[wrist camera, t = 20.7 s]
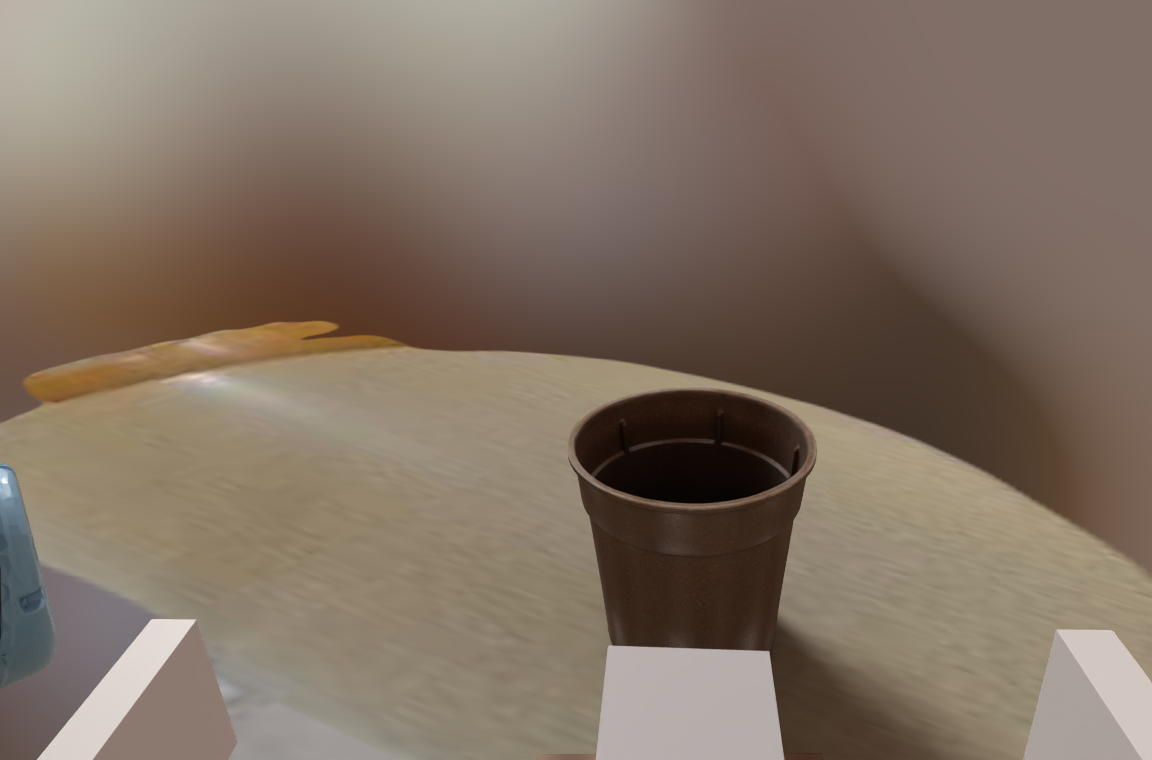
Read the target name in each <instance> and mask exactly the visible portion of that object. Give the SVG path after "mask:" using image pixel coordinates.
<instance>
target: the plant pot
mask: <svg viewBox="0 0 1152 760" xmlns="http://www.w3.org/2000/svg"><path fill="white" fill-rule="evenodd" d="M567 453H568V458H569V462H570V464H571V466H572V468H573V470H574V471H575V472H576V474H577V475H578V480H579V486H580V491H581V497H582V502H583V505H584V508H585V510H586V512H587V513H588V515H589V516H590V522H591V527H592V533H593V538H594V544H595V550H596V555H597V561H598V567H599V573H600V579H601V585H602V591H603V597H604V603H605V609H606V616H607V623H608V631H609V636H610V639H611V642H612V644H613V646H633V647H662V648H691V649H720V650H749V651H769V653H770V650H771V648H772V645H773V641H774V636H775V628H776V621H777V615H778V608H779V602H780V595H781V589H782V584H783V577H784V572H785V566H786V561H787V555H788V549H789V543H790V537H791V532H792V526H793V521H794V518H795V517H796V515H797V513H798V511H799V509H800V506H801V501H802V496H803V491H804V486H805V481H806V477H807V476H808V475H809V474H810V472H811V471H812V469H813V467H814V464H815V461H816V456H817V446H816V440H815V438H814V435H813V433H812V431H811V430H810V428H809V427H808V426H807V424H806V423H805V422H803V421H802V420H801V419H800V418H799V417H798V416H796V415H795V414H794V413H792V412H790V411H789V410H787V409H785V408H784V407H781V406H779V405H777V404H775V403H773V402H770V401H768V400H765V399H762V398H759V397H756V396H752V395H748V394H744V393H740V392H735V391H729V390H722V389H714V388H670V389H661V390H654V391H647V392H642V393H637V394H633V395H628V396H625V397H622V398H619V399H616V400H613V401H611V402H608V403H606V404H604V405H602V406H600V407H598V408H596V409H595V410H593V411H591V412H590V413H588V414H587V415H586V416H584V417H583V418H582V419H581V420H580V421H579V422H578V423H577V424H576V425H575V426H574V428H573V429H572V431H571V433H570V435H569V437H568V441H567Z"/></svg>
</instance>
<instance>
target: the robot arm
mask: <svg viewBox="0 0 1152 760" xmlns="http://www.w3.org/2000/svg"><path fill="white" fill-rule="evenodd" d="M56 649H57V637H56V632H55V627H54V622H53V618H52V613H51V609H50V605H49V601H48V596H47V593H46V588H45V584H44V580H43V576H42V572H41V568H40V564H39V560H38V556H37V552H36V548H35V544H34V540H33V536H32V532H31V528H30V524H29V520H28V517H27V513H26V509H25V506H24V502H23V498H22V494H21V490H20V486H19V483H18V480H17V476H16V474H15V471H14V470H13V469H12V468H11V467H10V466H8V465H6V464H1V463H0V689H1V688H4V687H6V686H8V685H11V684H13V683H15V682H18V681H20V680H23V679H25V678H27V677H30V676H32V675H34V674H36V673H38V672H39V671H41V670H42V669H44V668H45V667H46V666H47V665H48V664H49V663H50V661H51V660H52V659H53V657H54V655H55V652H56ZM236 744H237V739H236V736H235V733H234V730H233V727H232V724H231V721H230V718H229V715H228V712H227V709H226V706H225V703H224V701H223V698H222V695H221V692H220V689H219V686H218V683H217V680H216V677H215V674H214V671H213V668H212V665H211V662H210V659H209V656H208V653H207V650H206V647H205V644H204V641H203V638H202V635H201V632H200V629H199V626H198V623H197V620H167V619H152V620H151V621H150V622H149V623H148V625H147V626H146V627H145V628H144V629H143V631H142V632H141V633H140V634H139V636H138V637H137V638H136V639H135V640H134V642H133V643H132V644H131V645H130V647H129V648H128V649H127V650H126V651H125V653H124V654H123V655H122V656H121V658H120V659H119V660H118V661H117V663H116V664H115V665H114V666H113V667H112V669H111V670H110V671H109V672H108V674H107V675H106V676H105V677H104V678H103V680H102V681H101V682H100V683H99V684H98V686H97V687H96V688H95V689H94V691H93V692H92V693H91V694H90V696H89V697H88V698H87V699H86V700H85V702H84V703H83V704H82V705H81V707H80V708H79V709H78V710H77V711H76V713H75V714H74V715H73V716H72V718H71V719H70V720H69V721H68V722H67V724H66V725H65V726H64V727H63V729H62V730H61V731H60V732H59V733H58V735H57V736H56V737H55V739H54V740H53V741H52V742H51V743H50V745H49V746H48V747H47V748H46V749H45V751H44V752H43V753H42V754H41V755H40V757H39V758H38V759H37V760H228V758H229V756H230V754H231V753H232V751H233V749H234V747H235V745H236ZM1023 760H1152V682H1151V681H1150V680H1149V678H1148V677H1147V676H1146V674H1145V673H1144V672H1143V670H1142V669H1141V668H1140V666H1139V665H1138V664H1137V662H1136V661H1135V660H1134V658H1133V657H1132V656H1131V654H1130V653H1129V652H1128V650H1127V649H1126V648H1125V646H1124V645H1123V644H1122V642H1121V641H1120V640H1119V638H1118V637H1117V636H1116V634H1115V633H1114V632H1113V630H1056V632H1055V636H1054V640H1053V644H1052V648H1051V652H1050V656H1049V660H1048V664H1047V668H1046V672H1045V676H1044V680H1043V684H1042V688H1041V692H1040V696H1039V700H1038V704H1037V708H1036V712H1035V716H1034V720H1033V724H1032V727H1031V731H1030V735H1029V739H1028V743H1027V747H1026V751H1025V755H1024V759H1023Z"/></svg>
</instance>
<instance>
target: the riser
mask: <svg viewBox="0 0 1152 760" xmlns="http://www.w3.org/2000/svg"><path fill="white" fill-rule="evenodd" d="M537 760H596V754H538V756H537ZM784 760H823V757H822V754H821V753H785V754H784Z"/></svg>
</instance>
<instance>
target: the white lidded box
mask: <svg viewBox="0 0 1152 760" xmlns="http://www.w3.org/2000/svg"><path fill="white" fill-rule="evenodd" d="M596 760H784V754H783V747H782V740H781V732H780V725H779V718H778V711H777V704H776V696H775V689H774V682H773V675H772V668H771V661H770V653H769V651H749V650H720V649H691V648H662V647H633V646H608V652H607V661H606V670H605V679H604V688H603V698H602V707H601V716H600V725H599V734H598V744H597V753H596Z"/></svg>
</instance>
